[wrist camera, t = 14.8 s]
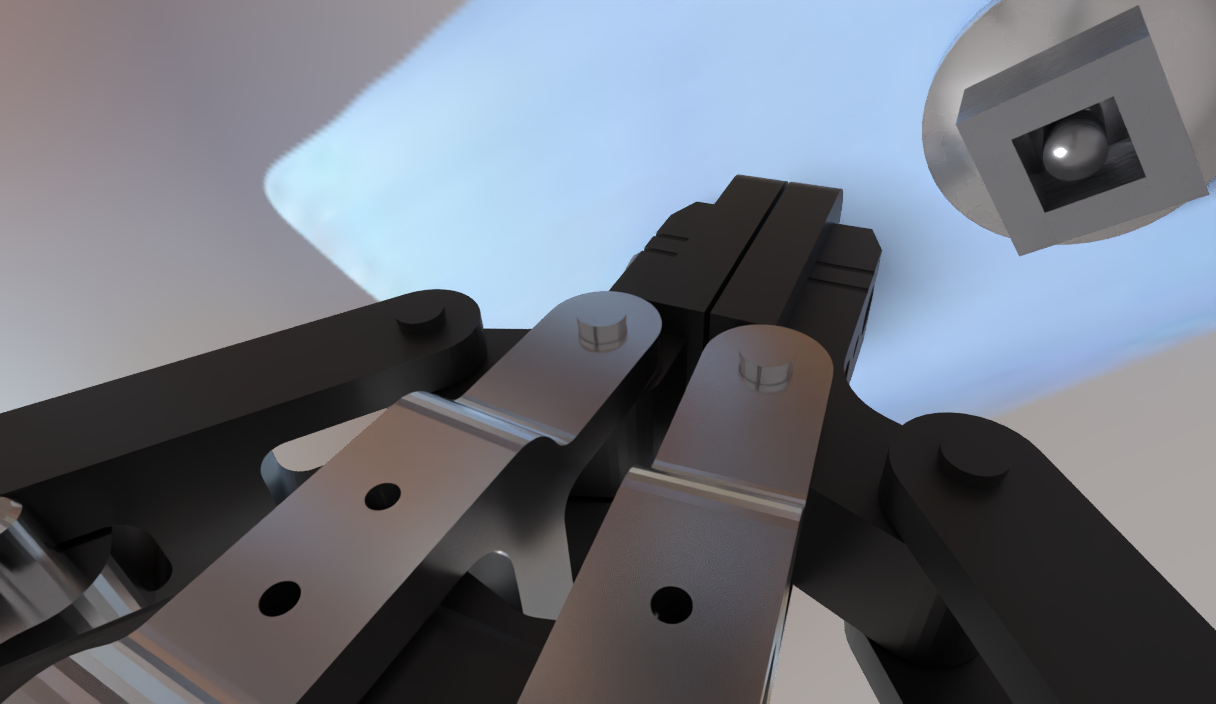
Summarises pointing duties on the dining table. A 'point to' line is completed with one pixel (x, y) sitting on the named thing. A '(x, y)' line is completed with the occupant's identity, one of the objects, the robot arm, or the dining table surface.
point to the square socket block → (1057, 87)
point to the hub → (1077, 144)
